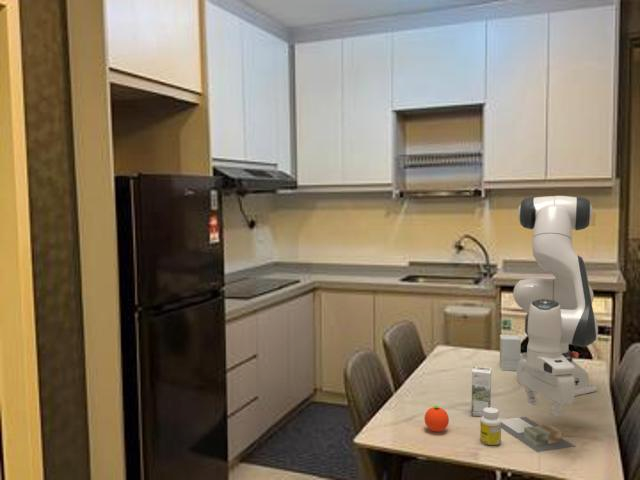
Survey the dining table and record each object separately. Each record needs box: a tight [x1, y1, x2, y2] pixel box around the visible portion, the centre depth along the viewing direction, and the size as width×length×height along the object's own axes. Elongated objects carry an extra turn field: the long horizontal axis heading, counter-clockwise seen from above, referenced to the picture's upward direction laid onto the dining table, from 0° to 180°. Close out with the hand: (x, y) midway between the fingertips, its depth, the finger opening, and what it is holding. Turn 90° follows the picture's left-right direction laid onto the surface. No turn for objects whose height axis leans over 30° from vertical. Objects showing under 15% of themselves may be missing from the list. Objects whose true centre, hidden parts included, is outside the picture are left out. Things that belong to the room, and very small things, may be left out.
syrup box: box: [470, 366, 493, 418], centre depth 178 cm, size 6×6×14 cm
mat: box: [500, 416, 576, 453], centre depth 163 cm, size 12×22×1 cm, turn 16°
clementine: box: [424, 405, 450, 433], centre depth 167 cm, size 8×7×7 cm
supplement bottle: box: [479, 407, 502, 448], centre depth 157 cm, size 5×5×10 cm
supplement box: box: [499, 334, 522, 372], centre depth 227 cm, size 7×7×13 cm
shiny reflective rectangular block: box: [524, 424, 562, 446], centre depth 158 cm, size 8×5×3 cm, turn 106°
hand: (543, 409), depth 157 cm, fingers open, 8 cm apart
